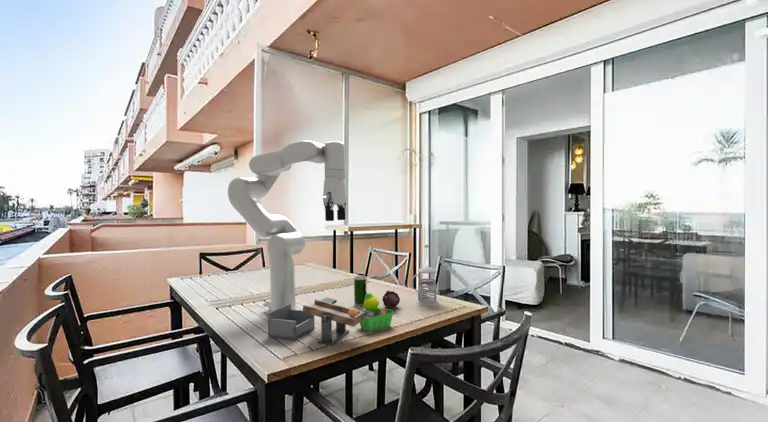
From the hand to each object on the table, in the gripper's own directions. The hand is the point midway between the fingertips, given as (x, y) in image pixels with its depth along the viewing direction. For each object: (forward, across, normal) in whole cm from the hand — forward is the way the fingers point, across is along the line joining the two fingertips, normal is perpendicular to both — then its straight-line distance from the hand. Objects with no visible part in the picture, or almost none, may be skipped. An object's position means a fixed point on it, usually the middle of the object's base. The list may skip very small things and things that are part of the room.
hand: (335, 220), depth 140 cm
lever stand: (+37, +20, +9) cm, 43 cm away
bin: (+37, +20, -7) cm, 42 cm away
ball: (+28, +20, +15) cm, 38 cm away
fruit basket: (+37, +6, +17) cm, 41 cm away
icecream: (+37, -19, +15) cm, 44 cm away
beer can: (+37, -20, +1) cm, 42 cm away
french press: (+37, -30, +27) cm, 55 cm away
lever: (+30, +16, +9) cm, 35 cm away
